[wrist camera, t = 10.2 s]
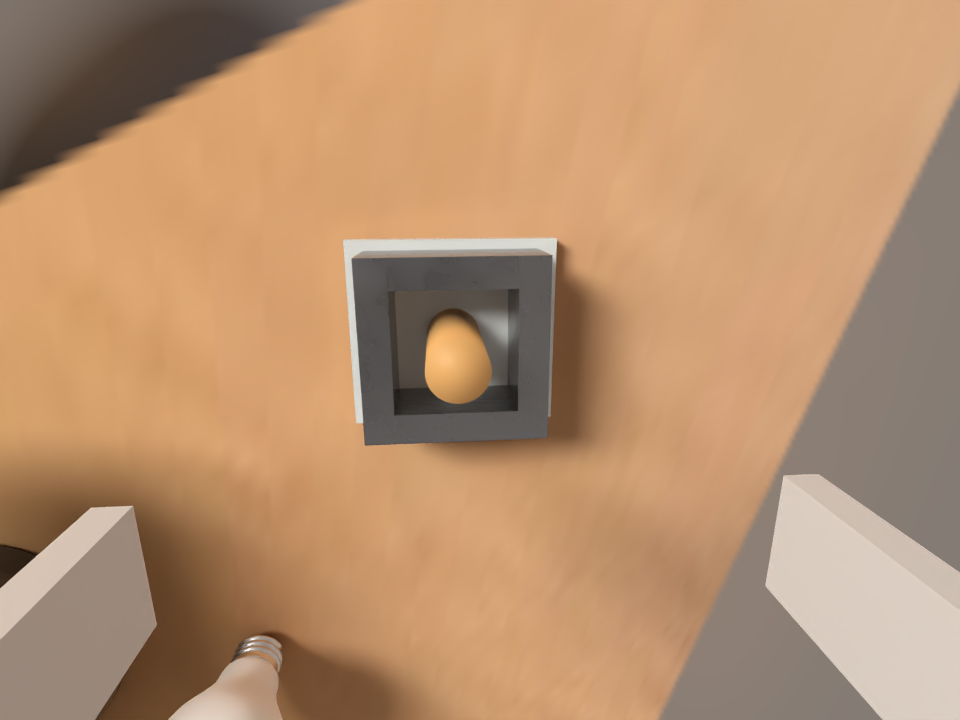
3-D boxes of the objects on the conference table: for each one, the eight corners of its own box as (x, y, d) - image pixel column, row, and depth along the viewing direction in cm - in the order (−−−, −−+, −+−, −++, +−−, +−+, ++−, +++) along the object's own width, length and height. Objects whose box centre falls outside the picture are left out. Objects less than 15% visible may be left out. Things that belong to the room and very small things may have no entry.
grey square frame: (373, 415, 30) (365, 445, 26) (362, 250, 28) (351, 258, 24) (533, 409, 31) (547, 437, 27) (536, 248, 28) (552, 255, 25)
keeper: (358, 416, 31) (333, 485, 24) (346, 238, 29) (313, 251, 21) (547, 410, 32) (582, 475, 24) (553, 237, 29) (594, 249, 22)
